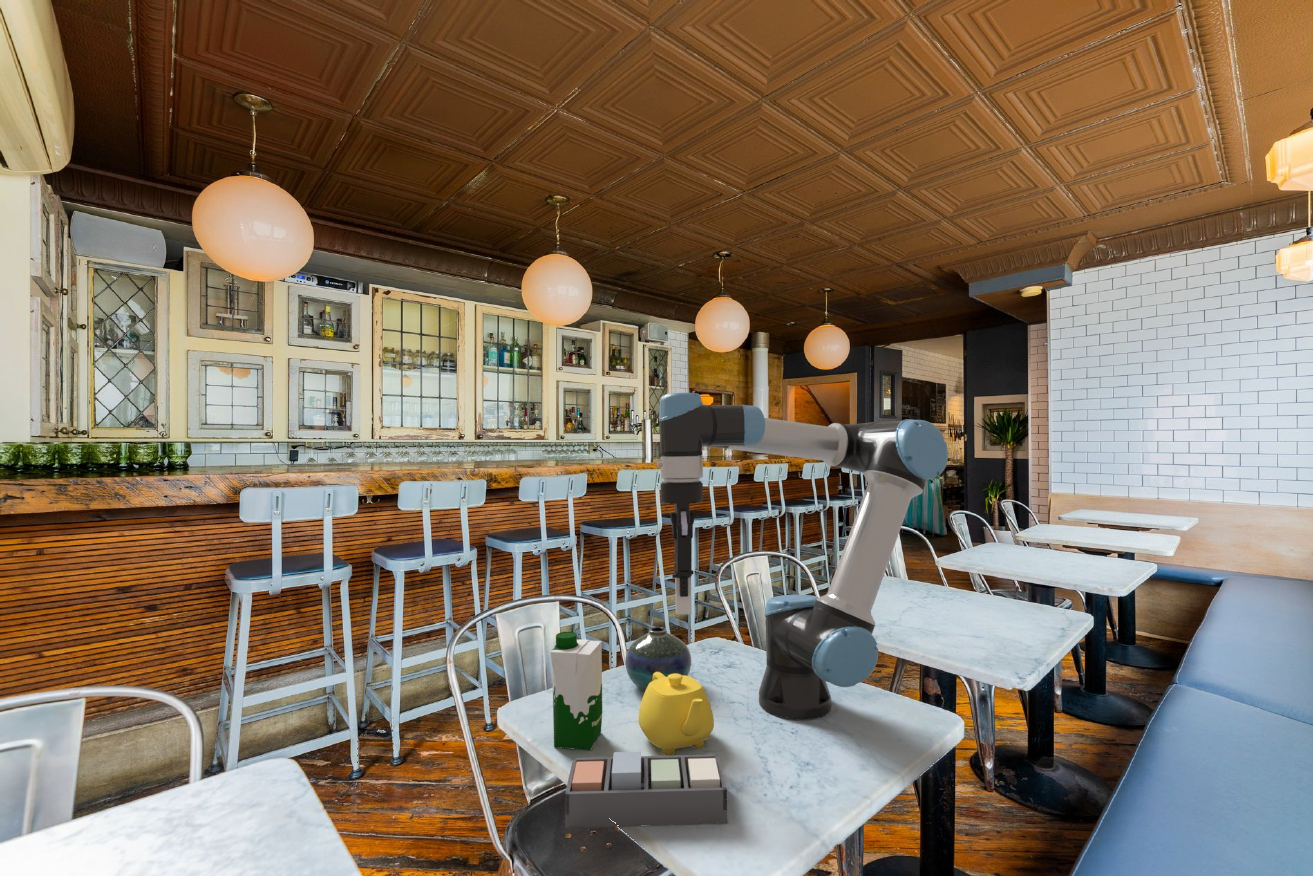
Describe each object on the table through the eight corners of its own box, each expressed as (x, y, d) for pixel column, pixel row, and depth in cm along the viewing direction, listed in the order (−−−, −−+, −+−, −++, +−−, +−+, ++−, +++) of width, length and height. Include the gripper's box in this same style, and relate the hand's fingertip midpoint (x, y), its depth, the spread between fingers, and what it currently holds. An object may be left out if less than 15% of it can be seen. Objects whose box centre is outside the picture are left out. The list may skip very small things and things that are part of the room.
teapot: (668, 778, 99) (667, 705, 100) (625, 727, 118) (624, 665, 118) (736, 760, 105) (735, 690, 105) (685, 714, 123) (684, 654, 123)
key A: (715, 776, 95) (715, 758, 95) (720, 799, 89) (719, 779, 89) (688, 777, 95) (688, 758, 95) (691, 799, 89) (690, 780, 89)
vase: (693, 700, 129) (692, 640, 130) (623, 701, 130) (622, 640, 130) (690, 673, 145) (689, 619, 145) (627, 674, 145) (627, 619, 145)
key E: (604, 779, 95) (603, 761, 95) (601, 802, 89) (601, 782, 89) (576, 780, 95) (576, 761, 95) (572, 803, 89) (572, 783, 89)
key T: (678, 777, 95) (678, 759, 95) (680, 800, 89) (680, 780, 89) (651, 778, 95) (650, 759, 95) (651, 801, 89) (651, 781, 89)
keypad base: (719, 784, 97) (718, 754, 97) (727, 823, 87) (727, 789, 87) (573, 788, 97) (573, 758, 97) (565, 828, 87) (564, 794, 87)
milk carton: (564, 727, 118) (562, 627, 118) (607, 731, 116) (606, 629, 116) (547, 749, 109) (545, 641, 110) (594, 754, 108) (592, 644, 108)
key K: (641, 770, 95) (640, 751, 95) (641, 792, 89) (640, 772, 89) (614, 771, 95) (613, 752, 95) (611, 793, 89) (611, 773, 89)
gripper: (659, 478, 111) (661, 603, 111) (661, 483, 98) (663, 625, 98) (699, 477, 111) (701, 602, 111) (706, 482, 98) (708, 624, 98)
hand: (683, 613), depth 105 cm, fingers closed
